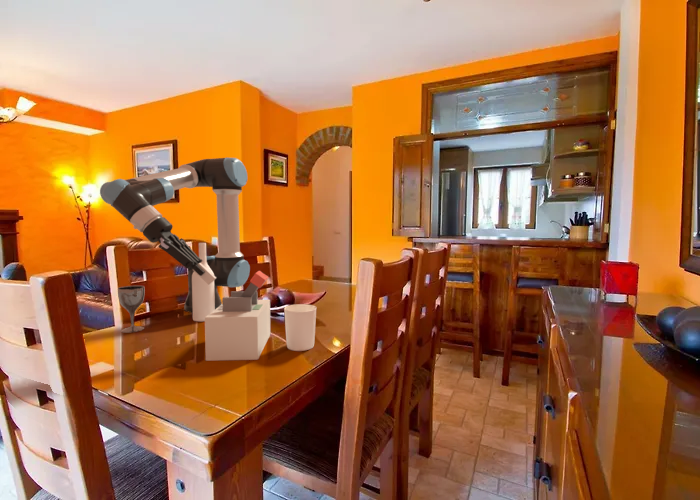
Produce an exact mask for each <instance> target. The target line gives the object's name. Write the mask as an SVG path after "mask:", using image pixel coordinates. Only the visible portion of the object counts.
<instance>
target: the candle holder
mask: <svg viewBox="0 0 700 500" xmlns="http://www.w3.org/2000/svg"><path fill="white" fill-rule="evenodd" d="M283 310H284V325H285V326H284V328H285V338H286V339H285V341H286V347H287V349H288V350H290V351H295V352H302V351H307V350H311V349H313V348H314V346H315V337H316V319H317V306H316V305H313V304H309V303H308V304H307V303H303V304H302V303H299V304H291V305H287V306H285V307H284V308H283Z"/></svg>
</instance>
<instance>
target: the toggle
mask: <svg viewBox="0 0 700 500" xmlns="http://www.w3.org/2000/svg"><path fill="white" fill-rule="evenodd" d="M269 277H270V276H268V275H266V274H265V273H264V272H262V271H261V270H258V271H257V272H255V273H254V274H253V276H252V277H251V279H250V280H249V285H248V286H247V287H246V288H245V290H244V293H243V294H242V295H241V297H251V298H252V296H253V295H254V294H255V292H256V291H257V292H258V289H261V288H262V287H263V286H264V284H266V282H267V280H268V279H269Z"/></svg>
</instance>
